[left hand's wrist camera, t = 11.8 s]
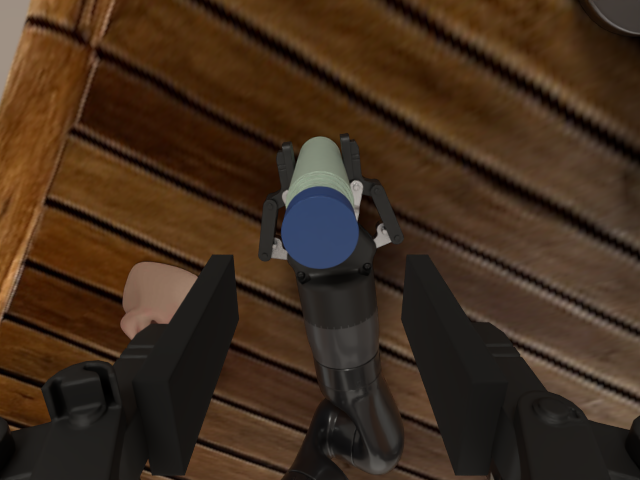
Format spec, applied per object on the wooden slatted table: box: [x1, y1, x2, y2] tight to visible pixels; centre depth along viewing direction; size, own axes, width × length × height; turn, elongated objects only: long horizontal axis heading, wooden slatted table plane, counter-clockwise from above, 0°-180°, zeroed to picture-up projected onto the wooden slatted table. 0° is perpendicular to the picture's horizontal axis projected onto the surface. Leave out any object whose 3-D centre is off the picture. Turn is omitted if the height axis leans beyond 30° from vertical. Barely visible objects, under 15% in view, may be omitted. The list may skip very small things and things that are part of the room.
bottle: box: [286, 137, 354, 209], centre depth 31 cm, size 4×4×22 cm
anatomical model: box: [121, 262, 198, 340], centre depth 45 cm, size 13×4×12 cm
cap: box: [281, 186, 359, 269], centre depth 21 cm, size 4×4×2 cm
